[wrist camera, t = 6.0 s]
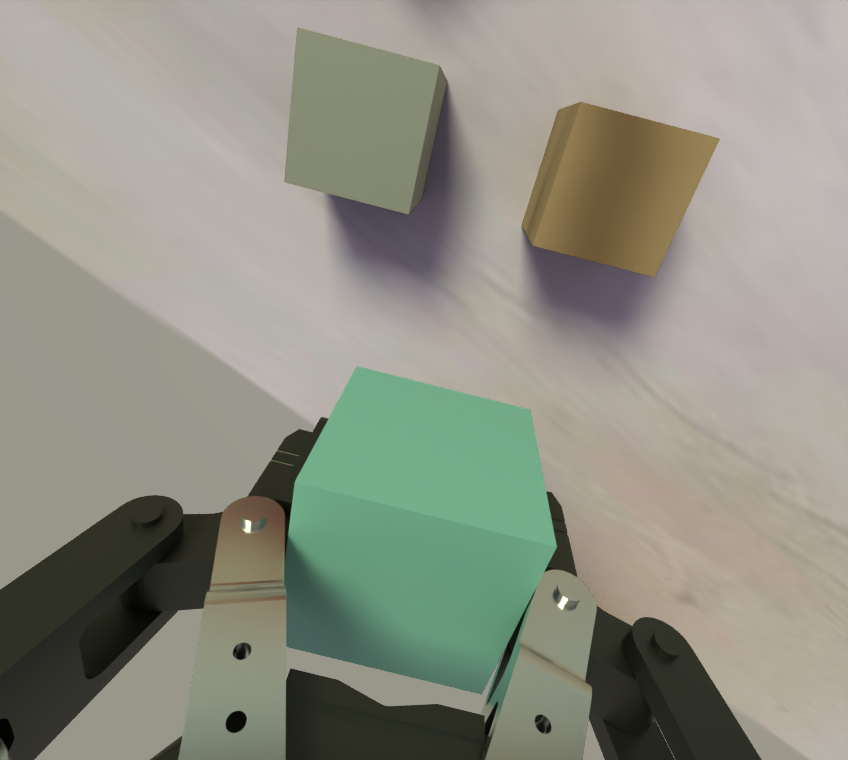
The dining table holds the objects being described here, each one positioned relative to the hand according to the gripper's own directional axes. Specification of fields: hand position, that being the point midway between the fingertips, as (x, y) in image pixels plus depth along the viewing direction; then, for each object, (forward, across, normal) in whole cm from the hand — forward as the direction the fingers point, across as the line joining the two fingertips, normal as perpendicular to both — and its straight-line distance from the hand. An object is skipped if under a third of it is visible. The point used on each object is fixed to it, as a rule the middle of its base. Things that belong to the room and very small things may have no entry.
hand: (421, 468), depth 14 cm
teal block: (+1, 0, 0) cm, 1 cm away
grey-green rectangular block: (+13, +5, -8) cm, 16 cm away
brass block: (+13, -5, -8) cm, 16 cm away
